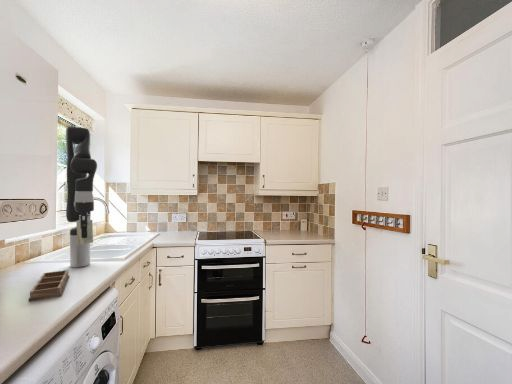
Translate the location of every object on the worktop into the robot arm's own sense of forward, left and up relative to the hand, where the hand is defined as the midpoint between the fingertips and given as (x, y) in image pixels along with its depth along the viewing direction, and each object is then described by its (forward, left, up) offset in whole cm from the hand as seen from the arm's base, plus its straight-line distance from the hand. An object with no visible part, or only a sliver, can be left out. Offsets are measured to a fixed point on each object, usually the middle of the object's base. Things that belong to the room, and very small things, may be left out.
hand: (84, 236), depth 126 cm
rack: (+8, -12, -20) cm, 24 cm away
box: (0, 0, -3) cm, 3 cm away
